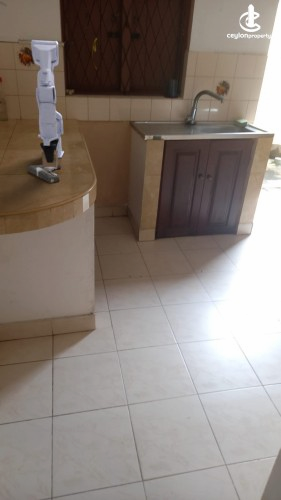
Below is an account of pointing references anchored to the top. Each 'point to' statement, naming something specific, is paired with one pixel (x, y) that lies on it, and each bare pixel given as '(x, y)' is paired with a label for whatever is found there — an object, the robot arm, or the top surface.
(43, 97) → the robot arm
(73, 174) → the top surface
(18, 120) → the top surface
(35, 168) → the handgun
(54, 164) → the walnut cube
